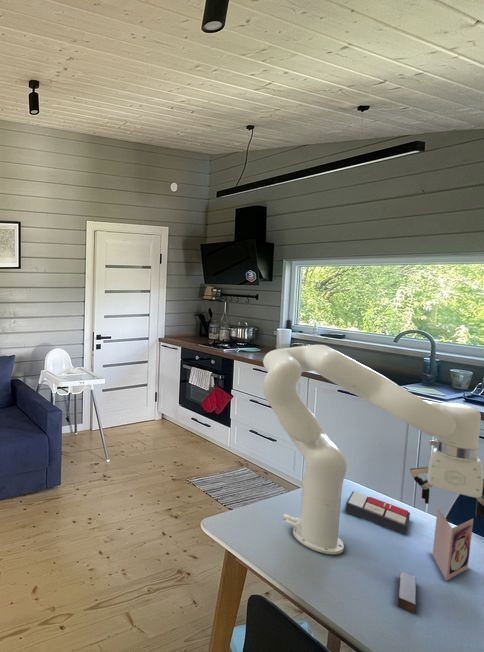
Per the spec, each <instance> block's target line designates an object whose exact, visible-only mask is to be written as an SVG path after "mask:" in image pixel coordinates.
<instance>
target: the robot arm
mask: <svg viewBox="0 0 484 652" xmlns="http://www.w3.org/2000/svg"><path fill="white" fill-rule="evenodd" d="M262 364H263V368H264V369H265V371H267V373H266V375H265V377H264V380H263V384H262V391H263V394H264V397H265V399H266V401H267V403H268V405H269V406H270V407H271V409H272V411H273V412H274V414H275V415H276V417H277V420H278V422H279V424H280V425H281V427H282V428H283V430H284V431H285V432H286V434H287V435H288V437H289V438H290V440H291V441H292V442H293V444H294V445H295V447H296V448H297V450H298V452H299V453H300V454H301V456H302V457H303V459H304V461H305V469H304V472H303V475H302V483H301V500H300V513H299V517H297V516H295V517H294V516H291V514H287V513H284V514H283V517H282V519H283V521H285V524H286V525H288V526H291V527H293V529H292V534H293V536H294V538H295V539H296V540H297V541H298V542H299V543H301V544H302V545H303V546H305V547H306V548H308V549H310V550H313V551H315V552H318V553H321V554H324V555H340V554H342V553H343V552H344V549H345V545H344V542H343V540H342V539H341V538H340V537H339V529H340V527H339V526H340V517H341V506H342V494H343V493H342V492H343V483H344V481H345V477H346V473H347V467H348V464H347V459H346V458H345V456H344V454H343V452H342V451H341V449H339V447H338V446H337V445H336V444H335V443H334V442H333V441H332V440H331V439H330V438H329V436H328V434H326V432H325V431H324V430H323V428H322V426H321V424H320V422H319V420H318V418H317V417H316V416H315V414H314V413H313V412H312V411H311V410H310V409H309V408H308V406H307V405H306V404H305V402H304V401H303V398H302V397H301V396H300V395H299V393H298V391H297V384H298V382H299V380H300V379H301V376H302V373H306V372H313V371H314V372H315V373H317V374H318V375H319V376H322V377H323V378H324V379H327V380H328V381H330V382H332V383H333V384H335V385H337V386H339V387H340V388H343V389H344V390H346V391H348V392H349V393H351V394H353V395H355V396H357V397H359V398H360V399H362V400H364V401H365V402H367V403H369V404H370V405H372V406H373V407H377V408H378V409H381V410H382V411H385V413H388V414H390V415H392V416H393V417H395V418H397V419H399V420H400V421H402V422H404V423H406V424H408V425H410V426H411V427H413V428H415V429H416V430H418V431H420V432H422V433H423V434H425V435H426V436H430V437H434V438H436V439H435V440H432V439H431V440H430V439H429V446H433V447H434V448H433V449H432V451H431V453H430V456H429V460H428V466H423V467H413V468H411V467H410V468H409V473H410V475H411V476H412V477H413V480H414V481H415V482H416V483H417V485H418V486H420V488H421V499H424V504H426V505H428V504H429V503H430V492H431V491H430V488H432V487H434V488H437V489H439V490H444V491H447V492H451V493H454V494H457V495H458V494H459V495H462V496H466V497H470V498H474V499H476V501H475V508H474V509H475V510H474V515H475V518H476V519H477V520H480V519H481V516H482V517H484V495H483V491H484V490H483V489H484V469H483V463H482V460H481V459H480V458H479V457H478V454H479V453H478V452H479V442H480V431H481V430H480V429H481V422H482V421H481V420H482V415H481V412H480V411H479V410H478V409H477V408H475V407H473V406H470V405H466V404H461V403H452V402H450V403H448V402H447V403H444V402H443V403H442V402H438V401H431V400H427V399H423V398H421V397H419V396H418V395H415V394H413V393H412V392H410V391H408V390H407V389H405V388H403V387H402V386H400V385H398V384H397V383H396V382H394V381H392V380H391V379H389V378H387V377H386V376H384V375H383V374H381V373H379V372H377V371H375V370H373V369H372V368H370V367H368V366H366V365H364V364H362V363H360V362H358V361H356V360H355V359H353V358H351V357H349V356H347V355H345V354H344V353H341V352H340V351H338V350H336V349H334V348H332V347H331V346H328V345H325V344H308V345H301V346H292V347H285V348H284V347H283V348H277V349H273V350H270V351H269V352H267V353H266V354H265V355H264V357H263V362H262ZM420 474H427V476H426V477H427V479H425V480H424V479H423V478H421V476H420Z"/></svg>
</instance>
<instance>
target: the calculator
mask: <svg viewBox="0 0 484 652" xmlns="http://www.w3.org/2000/svg"><path fill="white" fill-rule="evenodd" d="M344 512H345V513H347V514H349V515H351V516H353V517H356V518H358V519H360V518H361V519H365V520H368V521H369V522H372V523H375V524H377V525H379V526H382V527H385V528H387V529H388V530H389V529H390V530H391V531H394V532H397V533H399V534H401V535H406V534H407V533H406V532H407V529H408V526H409V522H410V516H411V512H409V510H407V509H404V508H401V507H399V506H396V505H394V504H391V503H388V502H386V501H383V500H380V499H377V498H375V497H372V496H368V495H365V494H362V493H360V492H357V491H352V492H351V493H350V495H349V497H348V499H347V501H346V503H345V509H344Z"/></svg>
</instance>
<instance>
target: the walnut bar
mask: <svg viewBox="0 0 484 652" xmlns="http://www.w3.org/2000/svg"><path fill="white" fill-rule="evenodd" d="M398 583H399V585H398V599H397V601H398V602H397V607H399V608H402V609H403V610H406V611H408V612H411V613H413V614H415V613H416V607H417V606H416V605H417V601H416V600H417V578H416V576H413V575H410V574H407V573H405V572H403V571H400V573H399V582H398Z"/></svg>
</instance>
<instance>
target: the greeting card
mask: <svg viewBox="0 0 484 652" xmlns="http://www.w3.org/2000/svg"><path fill="white" fill-rule="evenodd" d="M436 509H437V510H436V519H435V528H434V537H433V544H432V545H433V546H432V555H431V556H432V557H433V559H434V560H435V562H436V565H437V566H438V568H439V570H440V572H441V574H442V576H443V577H444V579H445V581H449V580H450V579H452V578H454V577H455V576H457V575H459V574H461V573H462V572H464V571H466V570H468V569H469V560H470V550H471V543H472V534H473V526H474V518H471V519H469V520H467V521H465V522H463V523H461V524H459V525H457V526H454V527H452V526H451V524H450V522H449V521H448V520H447V518H446V516H445V515H444V514H443V512H442V511H441V509H440V507H437V508H436Z"/></svg>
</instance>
